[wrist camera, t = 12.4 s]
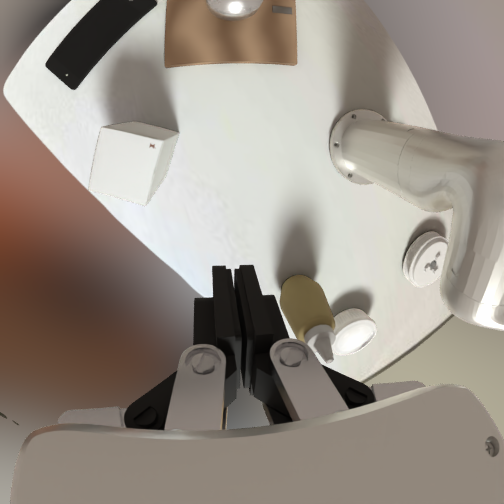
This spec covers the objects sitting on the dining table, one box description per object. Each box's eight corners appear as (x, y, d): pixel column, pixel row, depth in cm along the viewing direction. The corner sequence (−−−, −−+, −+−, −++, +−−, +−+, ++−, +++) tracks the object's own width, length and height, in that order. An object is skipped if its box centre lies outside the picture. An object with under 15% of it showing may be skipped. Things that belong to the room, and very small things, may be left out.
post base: (290, -27, 23) (298, -38, 20) (294, 65, 32) (302, 61, 28) (171, -28, 21) (167, -39, 17) (166, 68, 30) (161, 63, 26)
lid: (443, 223, 49) (457, 233, 45) (436, 269, 55) (448, 280, 51) (402, 237, 49) (416, 249, 45) (398, 285, 55) (409, 298, 51)
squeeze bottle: (266, 290, 50) (290, 368, 34) (297, 260, 47) (336, 332, 32) (294, 310, 53) (323, 382, 37) (324, 283, 51) (365, 351, 35)
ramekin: (352, 341, 61) (360, 356, 57) (314, 338, 58) (322, 355, 54) (375, 306, 57) (386, 321, 52) (337, 300, 54) (347, 317, 49)
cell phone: (159, 4, 24) (158, 2, 23) (75, 91, 28) (72, 91, 28) (124, -18, 20) (123, -21, 19) (46, 65, 25) (43, 65, 24)
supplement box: (133, 119, 32) (100, 123, 21) (181, 132, 35) (166, 139, 24) (120, 167, 35) (85, 190, 24) (165, 179, 38) (147, 208, 27)
